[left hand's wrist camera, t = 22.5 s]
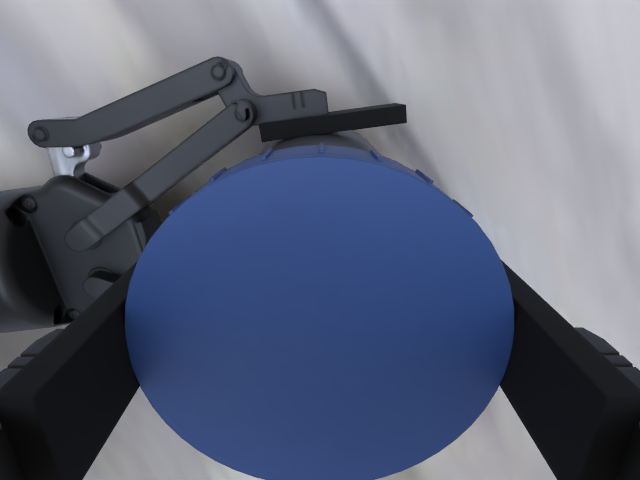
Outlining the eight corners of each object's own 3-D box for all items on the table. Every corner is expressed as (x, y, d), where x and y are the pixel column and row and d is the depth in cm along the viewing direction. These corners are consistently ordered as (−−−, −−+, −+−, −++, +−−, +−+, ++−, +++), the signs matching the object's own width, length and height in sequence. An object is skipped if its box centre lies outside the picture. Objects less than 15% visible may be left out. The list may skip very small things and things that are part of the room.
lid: (440, 451, 14) (457, 502, 12) (153, 421, 14) (129, 469, 12) (535, 172, 10) (578, 188, 9) (149, 116, 10) (112, 122, 8)
